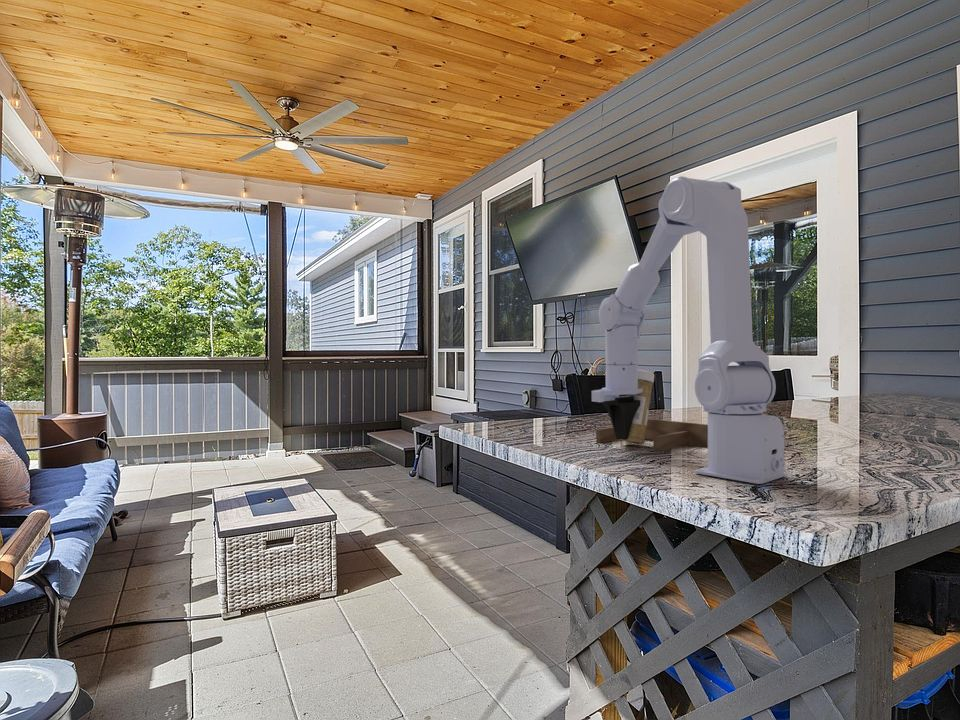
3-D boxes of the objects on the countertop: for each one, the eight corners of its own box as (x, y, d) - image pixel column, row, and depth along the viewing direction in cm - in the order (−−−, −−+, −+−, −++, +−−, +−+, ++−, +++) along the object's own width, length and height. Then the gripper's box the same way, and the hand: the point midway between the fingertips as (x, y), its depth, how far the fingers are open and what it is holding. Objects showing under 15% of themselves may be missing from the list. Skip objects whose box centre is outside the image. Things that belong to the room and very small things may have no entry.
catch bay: (712, 447, 106) (712, 424, 106) (678, 454, 99) (678, 430, 99) (614, 434, 123) (614, 415, 123) (579, 439, 116) (579, 419, 116)
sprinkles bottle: (649, 445, 108) (659, 374, 110) (635, 441, 105) (646, 368, 107) (628, 443, 111) (638, 374, 114) (614, 438, 109) (625, 368, 111)
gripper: (627, 363, 114) (628, 432, 115) (578, 365, 105) (578, 440, 105) (659, 363, 109) (659, 436, 109) (609, 366, 100) (610, 445, 100)
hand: (622, 439), depth 107 cm, fingers closed
